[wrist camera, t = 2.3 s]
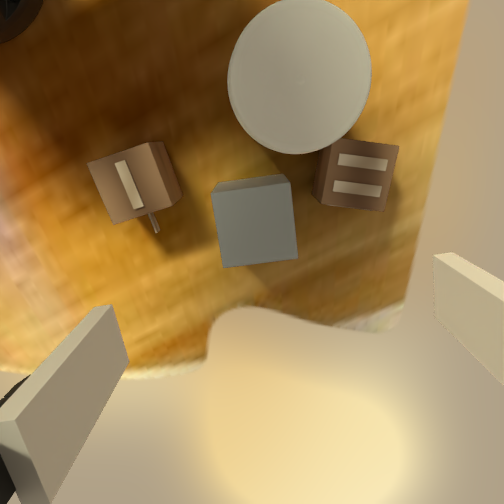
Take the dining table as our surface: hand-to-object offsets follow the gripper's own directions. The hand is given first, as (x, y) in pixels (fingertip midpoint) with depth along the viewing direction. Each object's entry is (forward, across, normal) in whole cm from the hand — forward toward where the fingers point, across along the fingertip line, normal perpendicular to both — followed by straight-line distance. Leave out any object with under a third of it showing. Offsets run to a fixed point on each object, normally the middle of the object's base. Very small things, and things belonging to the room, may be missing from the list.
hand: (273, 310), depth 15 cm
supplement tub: (+27, +4, +10) cm, 29 cm away
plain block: (+27, -1, -1) cm, 27 cm away
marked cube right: (+27, +9, +2) cm, 29 cm away
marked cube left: (+27, -11, +3) cm, 29 cm away
